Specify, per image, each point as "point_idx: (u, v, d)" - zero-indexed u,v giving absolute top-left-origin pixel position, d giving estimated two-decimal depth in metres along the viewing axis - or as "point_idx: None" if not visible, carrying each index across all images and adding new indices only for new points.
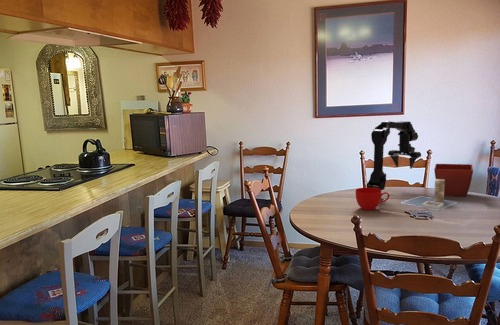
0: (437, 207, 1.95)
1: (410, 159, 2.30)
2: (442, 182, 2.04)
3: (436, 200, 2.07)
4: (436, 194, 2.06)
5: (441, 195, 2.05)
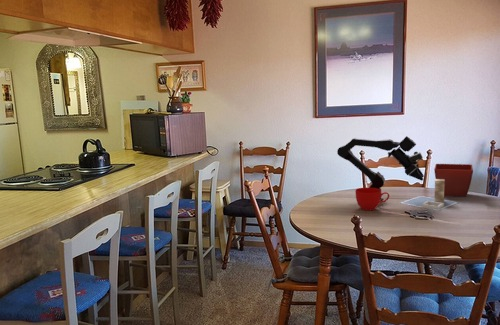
0: (437, 207, 1.95)
1: None
2: (442, 182, 2.04)
3: (436, 200, 2.07)
4: (436, 194, 2.06)
5: (441, 195, 2.05)
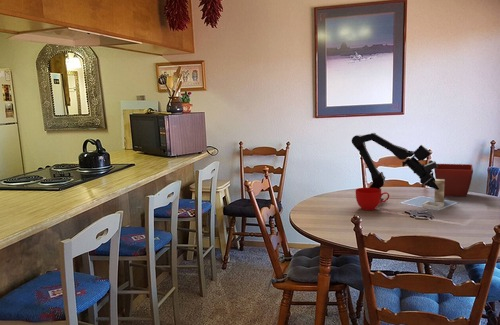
0: (437, 207, 1.95)
1: None
2: (442, 182, 2.04)
3: (436, 200, 2.07)
4: (436, 194, 2.06)
5: (441, 195, 2.05)
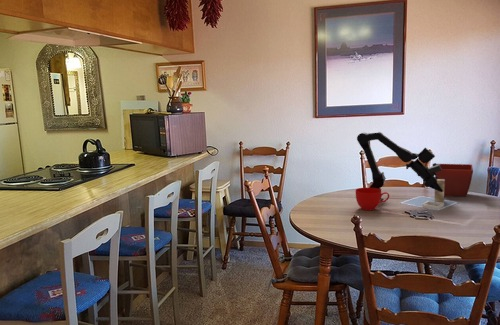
0: (437, 207, 1.95)
1: None
2: (442, 182, 2.04)
3: (436, 200, 2.07)
4: (436, 194, 2.06)
5: (441, 195, 2.05)
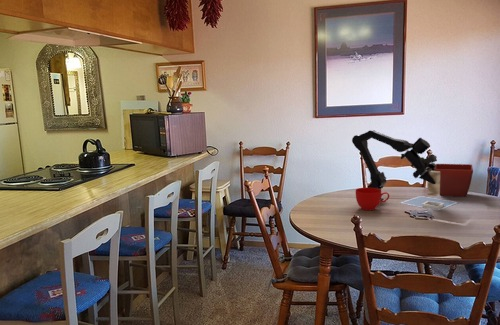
0: (437, 207, 1.95)
1: None
2: (435, 174, 1.96)
3: (429, 192, 1.99)
4: (429, 186, 1.99)
5: (434, 187, 1.97)
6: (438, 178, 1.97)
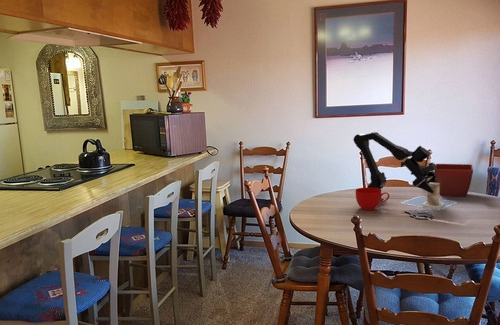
0: (437, 207, 1.95)
1: None
2: (434, 186, 1.97)
3: (429, 204, 2.00)
4: (429, 198, 1.99)
5: (434, 199, 1.98)
6: (438, 190, 1.98)
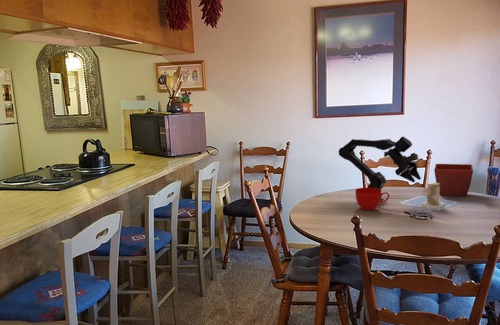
0: (437, 207, 1.95)
1: None
2: (434, 186, 1.97)
3: (429, 204, 2.00)
4: (429, 198, 1.99)
5: (434, 199, 1.98)
6: (438, 190, 1.98)
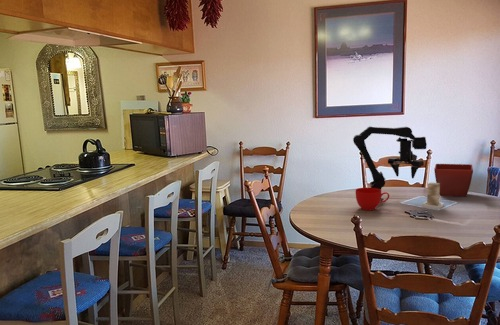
0: (437, 207, 1.95)
1: (412, 168, 2.10)
2: (434, 186, 1.97)
3: (429, 204, 2.00)
4: (429, 198, 1.99)
5: (434, 199, 1.98)
6: (438, 190, 1.98)
